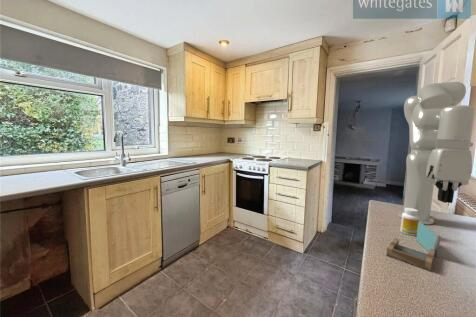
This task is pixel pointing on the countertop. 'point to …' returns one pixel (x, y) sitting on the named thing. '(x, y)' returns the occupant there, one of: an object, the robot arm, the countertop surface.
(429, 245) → the gate
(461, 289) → the countertop surface
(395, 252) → the bay
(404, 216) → the supplement bottle
